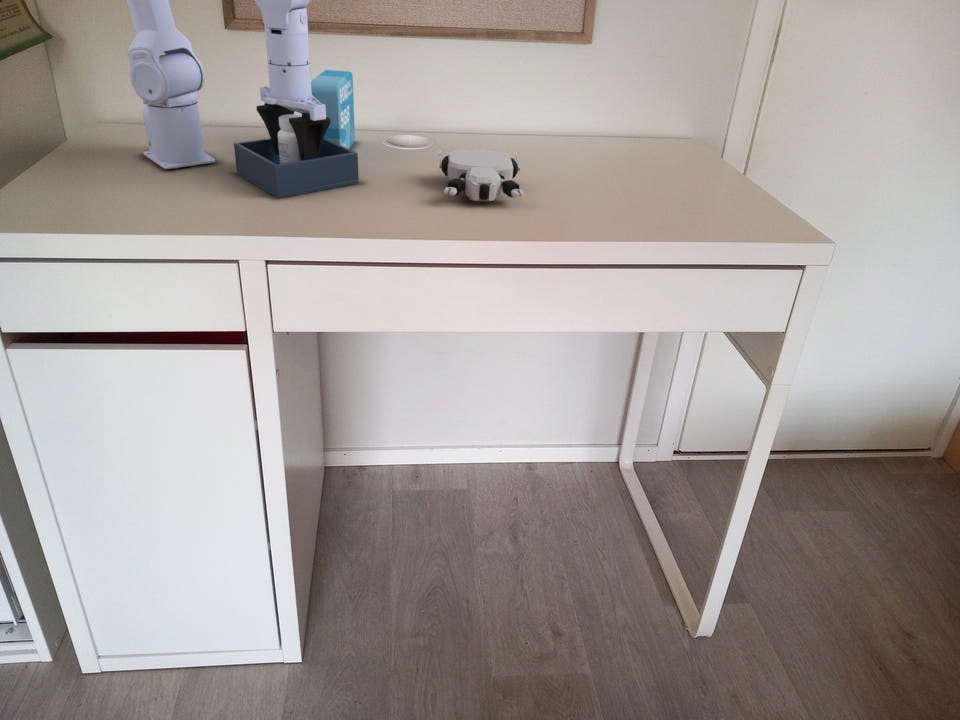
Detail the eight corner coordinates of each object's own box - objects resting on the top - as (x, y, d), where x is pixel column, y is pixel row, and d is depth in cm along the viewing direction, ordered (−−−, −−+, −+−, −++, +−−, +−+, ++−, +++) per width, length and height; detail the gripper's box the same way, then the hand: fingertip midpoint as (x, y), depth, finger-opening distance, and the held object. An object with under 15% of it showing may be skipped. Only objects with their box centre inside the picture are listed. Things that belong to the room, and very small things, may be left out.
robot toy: (526, 214, 104) (515, 175, 117) (529, 184, 102) (517, 147, 114) (440, 212, 103) (438, 173, 116) (440, 181, 101) (438, 144, 113)
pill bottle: (313, 170, 112) (310, 113, 108) (313, 179, 108) (309, 121, 104) (281, 170, 112) (277, 113, 107) (280, 179, 108) (275, 120, 103)
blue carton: (341, 160, 120) (338, 83, 113) (313, 158, 120) (309, 81, 114) (355, 141, 130) (352, 70, 124) (329, 139, 130) (326, 68, 124)
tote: (236, 173, 111) (233, 143, 108) (314, 161, 118) (313, 132, 116) (277, 198, 102) (274, 165, 100) (358, 183, 110) (357, 152, 108)
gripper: (237, 56, 104) (247, 152, 111) (290, 73, 95) (298, 176, 102) (281, 53, 108) (288, 145, 115) (336, 69, 99) (341, 168, 106)
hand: (296, 160), depth 109 cm, fingers open, 7 cm apart
